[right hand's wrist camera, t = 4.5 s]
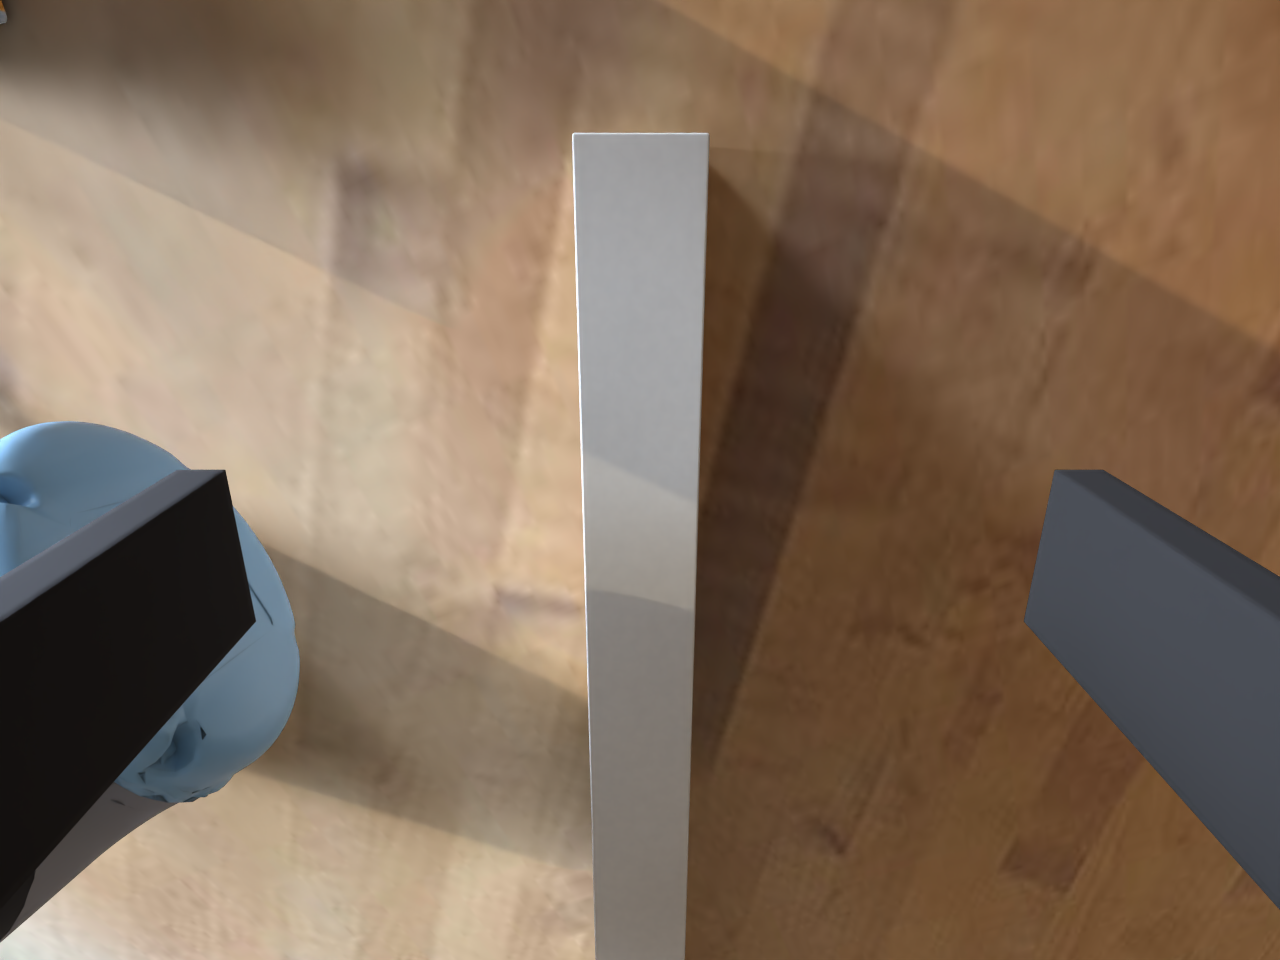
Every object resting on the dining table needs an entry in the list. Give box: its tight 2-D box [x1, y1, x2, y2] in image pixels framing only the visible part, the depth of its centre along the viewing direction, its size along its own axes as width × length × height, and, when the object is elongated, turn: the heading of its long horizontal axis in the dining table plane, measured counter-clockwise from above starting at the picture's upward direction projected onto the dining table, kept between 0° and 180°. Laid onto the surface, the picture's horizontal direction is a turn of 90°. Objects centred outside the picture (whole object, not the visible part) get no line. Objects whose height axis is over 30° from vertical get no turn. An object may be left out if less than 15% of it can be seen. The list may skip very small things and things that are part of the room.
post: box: [572, 133, 710, 960], centre depth 40 cm, size 57×5×8 cm, turn 0°
